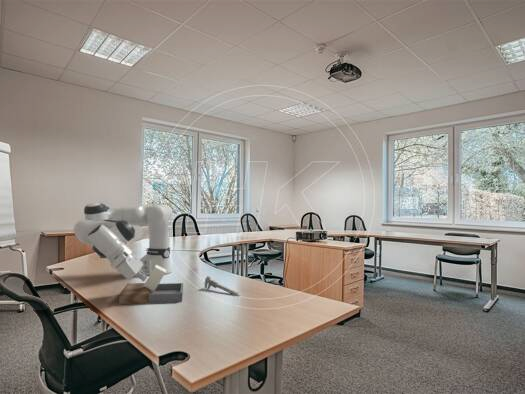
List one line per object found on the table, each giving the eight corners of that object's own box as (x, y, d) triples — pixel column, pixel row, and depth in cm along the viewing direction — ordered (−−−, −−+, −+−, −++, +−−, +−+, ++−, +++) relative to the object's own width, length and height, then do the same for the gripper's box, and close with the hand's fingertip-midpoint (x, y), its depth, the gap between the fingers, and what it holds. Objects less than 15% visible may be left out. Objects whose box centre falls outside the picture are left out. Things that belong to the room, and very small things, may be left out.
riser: (119, 304, 126) (119, 294, 126) (127, 292, 142) (127, 283, 142) (148, 302, 128) (148, 293, 128) (153, 291, 144) (153, 282, 144)
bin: (148, 302, 129) (149, 294, 129) (153, 291, 144) (153, 283, 144) (181, 301, 131) (182, 293, 131) (183, 290, 147) (183, 283, 147)
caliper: (204, 288, 152) (204, 275, 152) (205, 288, 153) (206, 275, 153) (238, 296, 141) (239, 282, 141) (240, 296, 142) (240, 282, 142)
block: (143, 285, 133) (155, 267, 134) (145, 282, 138) (156, 264, 139) (154, 291, 134) (165, 272, 135) (155, 288, 139) (166, 269, 140)
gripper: (121, 257, 143) (143, 278, 145) (109, 267, 123) (135, 291, 125) (132, 247, 144) (154, 268, 146) (122, 255, 124) (147, 280, 126)
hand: (145, 279), depth 135 cm, fingers closed
